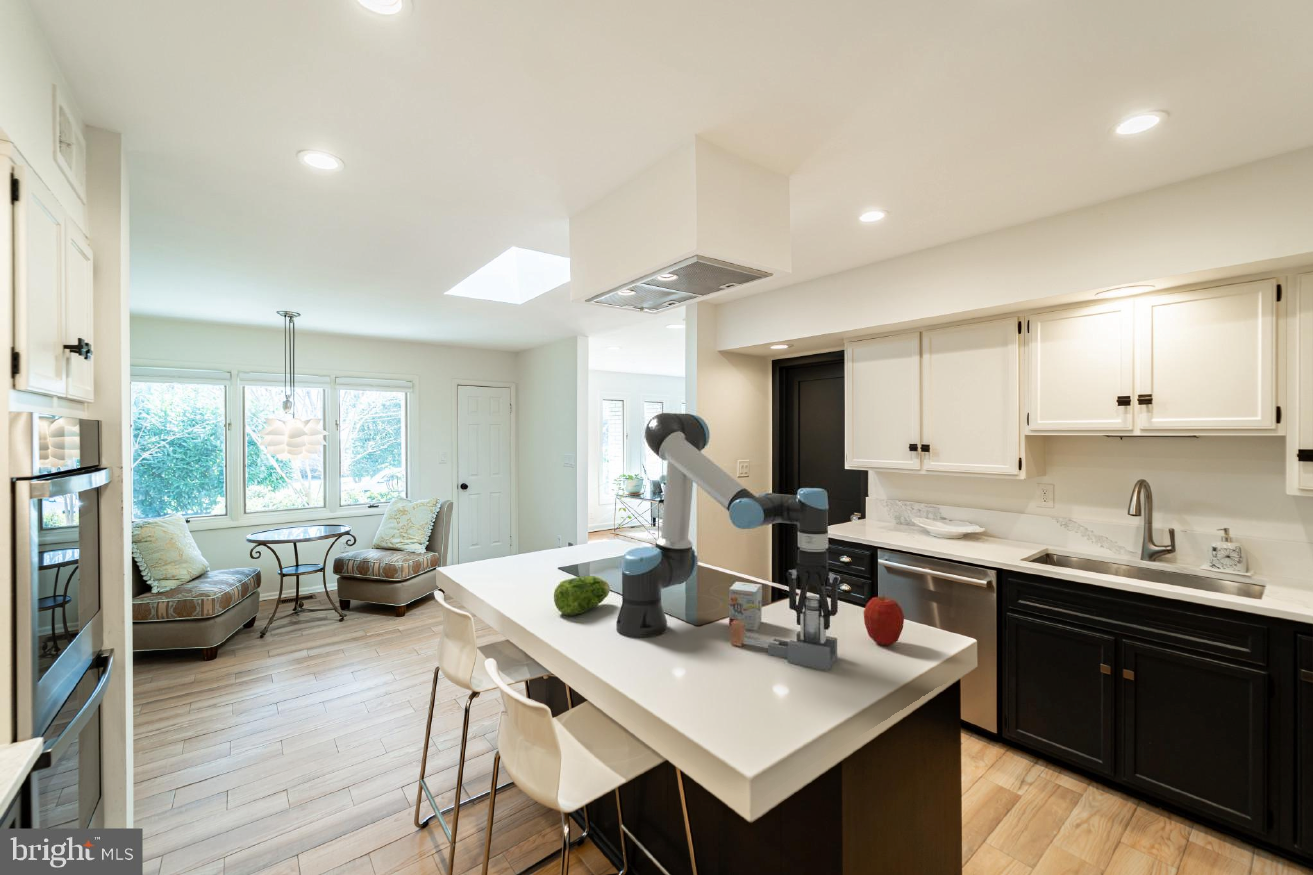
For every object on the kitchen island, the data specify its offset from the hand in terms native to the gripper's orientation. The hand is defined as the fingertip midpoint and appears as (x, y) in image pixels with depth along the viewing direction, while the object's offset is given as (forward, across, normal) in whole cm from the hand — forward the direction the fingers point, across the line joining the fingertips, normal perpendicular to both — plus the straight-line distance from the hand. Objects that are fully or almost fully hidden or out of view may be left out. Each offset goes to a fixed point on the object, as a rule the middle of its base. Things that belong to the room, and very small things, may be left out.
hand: (813, 639), depth 143 cm
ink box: (+5, -25, +17) cm, 31 cm away
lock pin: (+5, -16, 0) cm, 16 cm away
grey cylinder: (+2, 0, 0) cm, 2 cm away
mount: (+5, -3, 0) cm, 6 cm away
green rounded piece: (+5, -76, +3) cm, 76 cm away
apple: (+5, +14, +21) cm, 26 cm away
